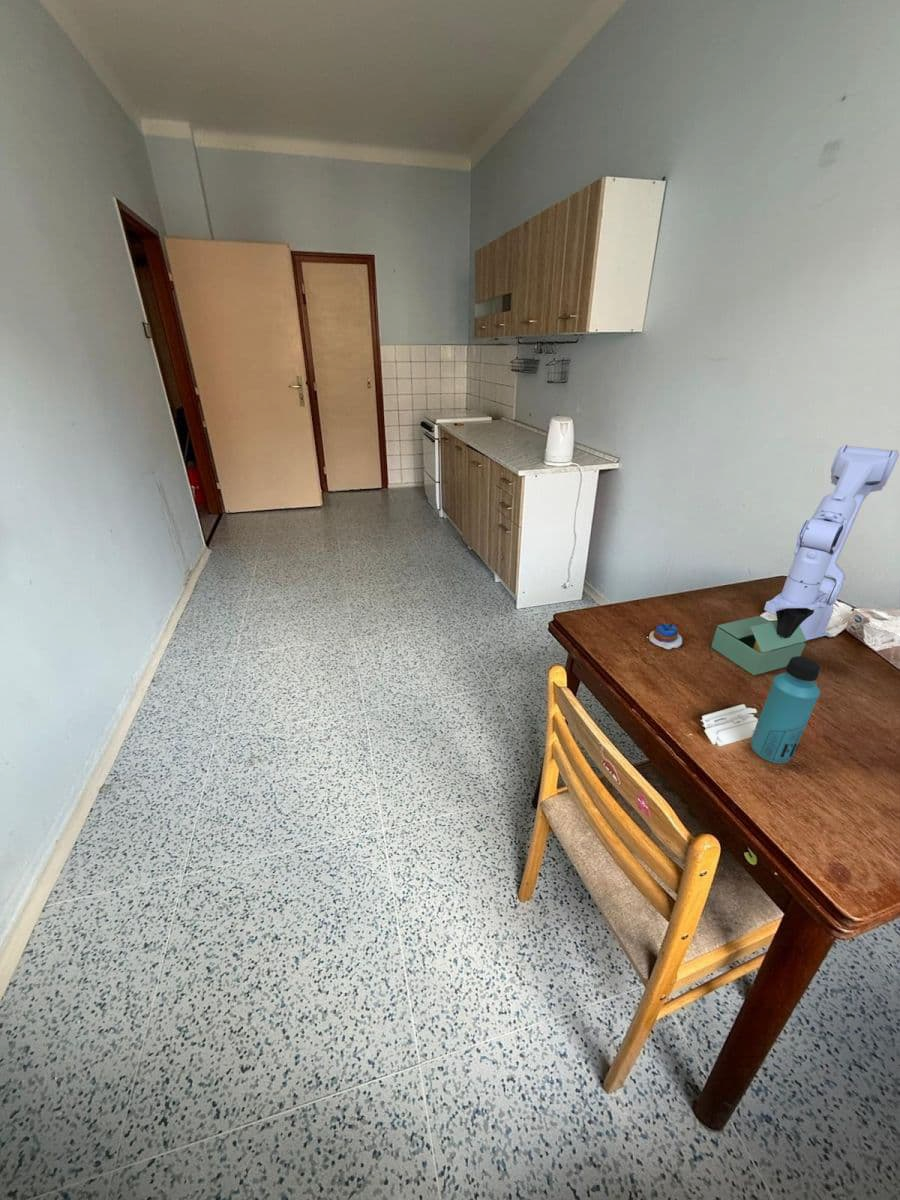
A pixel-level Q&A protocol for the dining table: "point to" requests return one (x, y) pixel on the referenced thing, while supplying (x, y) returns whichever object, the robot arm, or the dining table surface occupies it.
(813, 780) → the dining table surface
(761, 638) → the flap
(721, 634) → the green storage box
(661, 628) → the dessert
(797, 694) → the beverage bottle
